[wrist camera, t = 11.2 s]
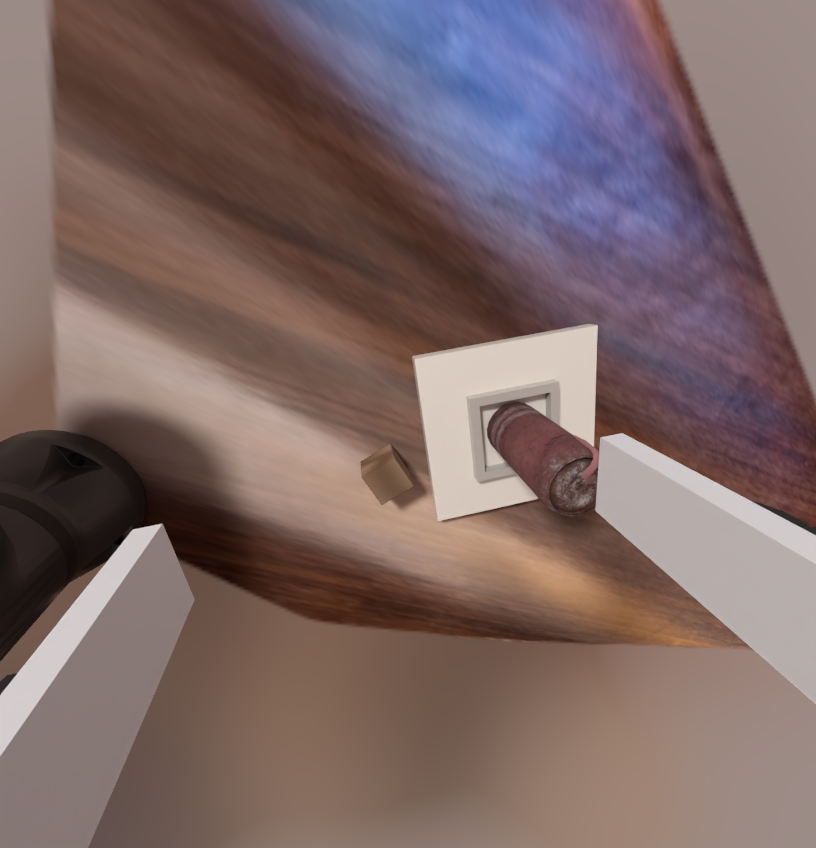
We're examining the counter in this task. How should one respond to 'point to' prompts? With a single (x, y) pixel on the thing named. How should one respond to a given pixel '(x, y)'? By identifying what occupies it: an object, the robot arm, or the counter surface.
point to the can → (546, 458)
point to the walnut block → (386, 474)
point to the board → (483, 395)
